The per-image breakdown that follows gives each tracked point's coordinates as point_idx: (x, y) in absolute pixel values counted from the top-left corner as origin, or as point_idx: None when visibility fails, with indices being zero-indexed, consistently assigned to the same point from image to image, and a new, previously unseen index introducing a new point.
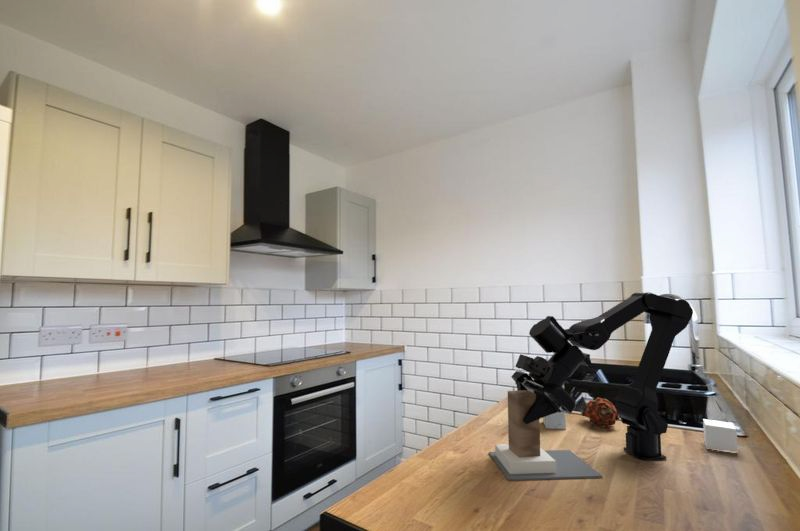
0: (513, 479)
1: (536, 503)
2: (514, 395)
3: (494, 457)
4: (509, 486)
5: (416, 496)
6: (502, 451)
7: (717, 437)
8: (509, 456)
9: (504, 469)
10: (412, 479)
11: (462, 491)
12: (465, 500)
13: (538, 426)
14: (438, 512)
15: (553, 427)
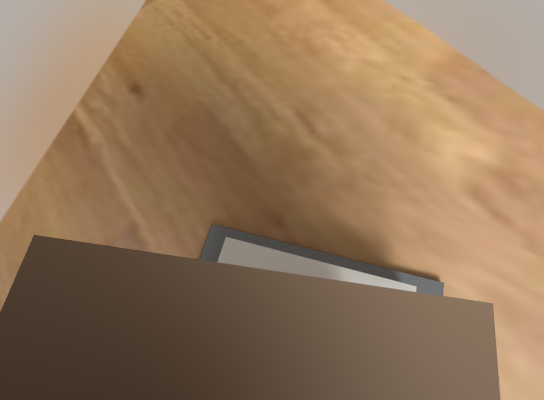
0: (207, 239)
1: (86, 223)
2: (163, 256)
3: (380, 273)
4: (185, 208)
5: (234, 8)
6: (328, 270)
7: None
8: (271, 267)
9: (271, 248)
10: (311, 15)
11: (214, 91)
12: (177, 84)
13: None
14: (164, 29)
15: None
